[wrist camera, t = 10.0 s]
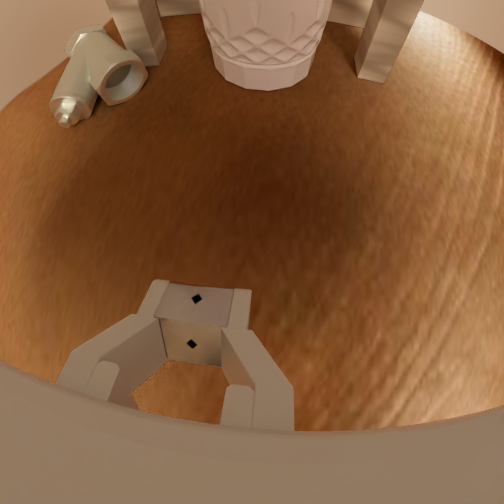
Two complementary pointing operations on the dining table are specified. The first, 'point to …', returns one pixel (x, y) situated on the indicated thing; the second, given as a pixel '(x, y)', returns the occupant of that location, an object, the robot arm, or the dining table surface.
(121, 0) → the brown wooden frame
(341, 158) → the dining table surface
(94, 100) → the pipe fitting
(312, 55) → the white cup
